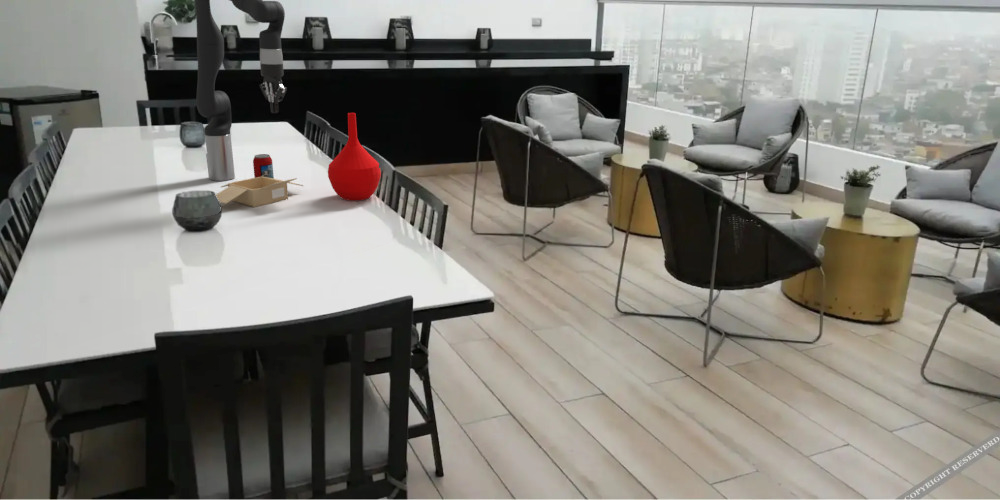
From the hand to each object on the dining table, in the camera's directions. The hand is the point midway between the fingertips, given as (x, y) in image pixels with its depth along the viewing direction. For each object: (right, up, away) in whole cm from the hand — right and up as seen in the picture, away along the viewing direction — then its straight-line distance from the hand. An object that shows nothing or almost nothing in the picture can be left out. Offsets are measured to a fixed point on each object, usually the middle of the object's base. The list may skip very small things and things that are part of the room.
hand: (274, 112), depth 258 cm
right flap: (-12, -29, -11) cm, 34 cm away
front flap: (+4, -26, -10) cm, 28 cm away
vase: (+28, -30, +4) cm, 41 cm away
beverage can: (-8, -25, +16) cm, 31 cm away
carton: (-6, -29, +5) cm, 30 cm away
